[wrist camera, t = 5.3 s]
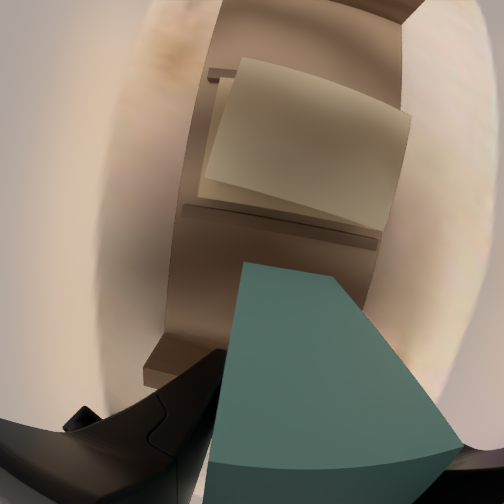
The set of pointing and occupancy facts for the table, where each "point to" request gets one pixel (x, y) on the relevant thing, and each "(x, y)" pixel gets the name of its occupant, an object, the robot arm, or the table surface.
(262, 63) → the offcut top
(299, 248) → the rack
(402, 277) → the table surface
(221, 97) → the offcut low
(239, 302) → the teal rectangular block
